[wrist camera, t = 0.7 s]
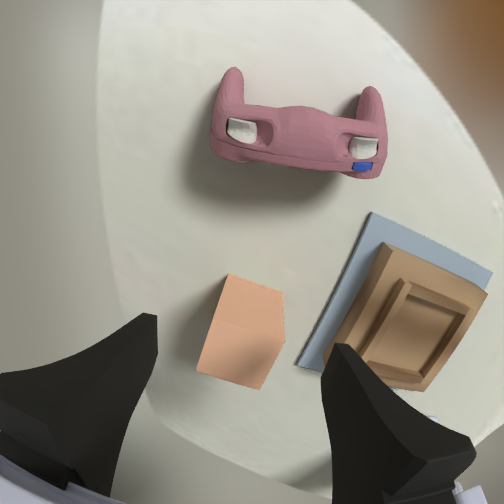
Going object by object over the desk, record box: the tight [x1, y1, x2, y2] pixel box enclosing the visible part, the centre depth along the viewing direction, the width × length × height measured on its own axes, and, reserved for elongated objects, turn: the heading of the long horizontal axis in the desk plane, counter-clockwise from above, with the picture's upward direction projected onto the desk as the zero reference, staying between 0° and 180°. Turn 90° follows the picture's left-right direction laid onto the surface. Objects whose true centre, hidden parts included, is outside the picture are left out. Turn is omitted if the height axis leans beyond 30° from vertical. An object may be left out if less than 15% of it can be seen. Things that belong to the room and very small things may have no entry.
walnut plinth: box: [323, 242, 488, 392], centre depth 20 cm, size 10×10×3 cm
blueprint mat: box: [297, 212, 493, 372], centre depth 21 cm, size 13×13×1 cm
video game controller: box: [210, 67, 388, 179], centre depth 15 cm, size 10×5×7 cm, turn 85°
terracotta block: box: [196, 274, 285, 390], centre depth 19 cm, size 4×4×6 cm
